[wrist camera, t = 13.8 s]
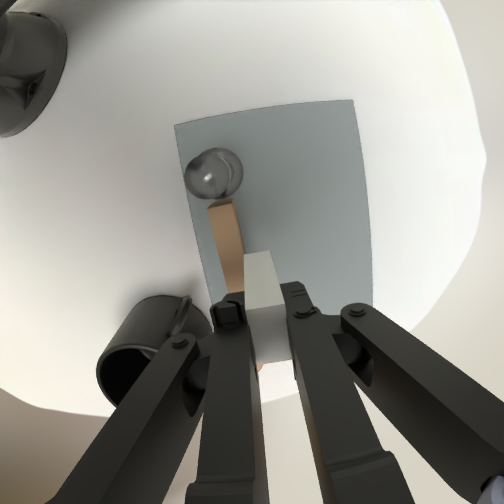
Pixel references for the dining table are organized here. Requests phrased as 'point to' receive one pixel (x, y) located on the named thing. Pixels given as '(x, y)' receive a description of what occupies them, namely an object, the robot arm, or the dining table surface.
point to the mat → (292, 197)
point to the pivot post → (214, 174)
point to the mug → (145, 341)
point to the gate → (228, 242)
